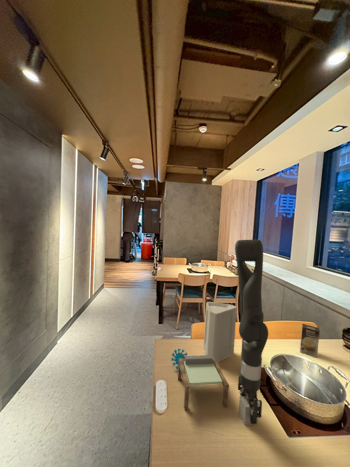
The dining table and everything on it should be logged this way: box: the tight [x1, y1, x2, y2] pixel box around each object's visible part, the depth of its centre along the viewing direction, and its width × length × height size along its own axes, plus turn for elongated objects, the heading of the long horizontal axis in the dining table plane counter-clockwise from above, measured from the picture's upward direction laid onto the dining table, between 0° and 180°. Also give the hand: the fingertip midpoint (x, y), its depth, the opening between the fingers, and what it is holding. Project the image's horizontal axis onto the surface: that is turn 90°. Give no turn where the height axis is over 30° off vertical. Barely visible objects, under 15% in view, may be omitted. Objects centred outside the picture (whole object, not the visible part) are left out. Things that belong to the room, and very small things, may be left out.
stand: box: [177, 358, 230, 411], centre depth 94 cm, size 18×18×10 cm
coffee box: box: [299, 323, 320, 358], centre depth 130 cm, size 9×6×16 cm
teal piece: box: [170, 348, 188, 370], centre depth 112 cm, size 11×6×10 cm
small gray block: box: [238, 395, 258, 426], centre depth 82 cm, size 5×5×7 cm
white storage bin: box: [203, 301, 238, 363], centre depth 124 cm, size 19×15×28 cm
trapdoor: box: [184, 354, 222, 386], centre depth 94 cm, size 14×14×4 cm
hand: (247, 413), depth 82 cm, fingers open, 8 cm apart
